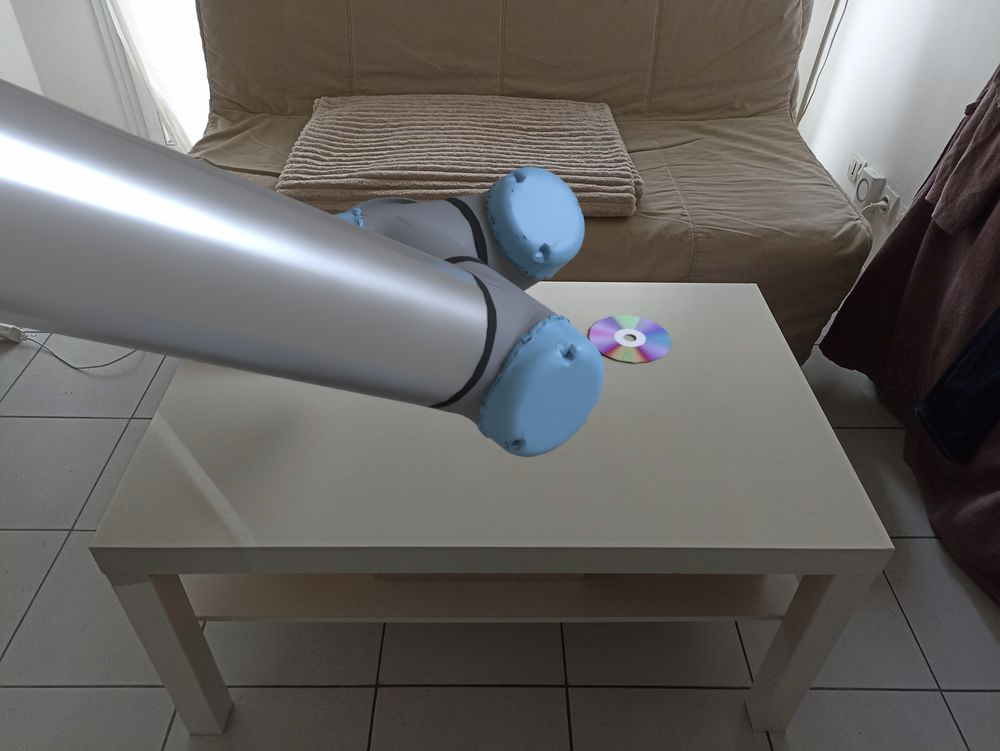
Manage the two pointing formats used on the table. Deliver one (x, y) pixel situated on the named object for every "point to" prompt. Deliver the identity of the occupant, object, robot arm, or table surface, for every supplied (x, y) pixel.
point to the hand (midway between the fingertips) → (356, 355)
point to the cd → (643, 349)
